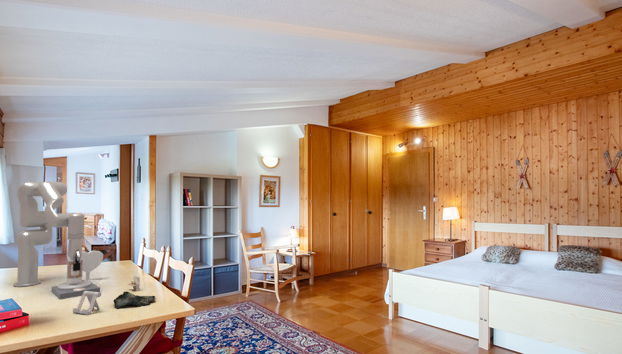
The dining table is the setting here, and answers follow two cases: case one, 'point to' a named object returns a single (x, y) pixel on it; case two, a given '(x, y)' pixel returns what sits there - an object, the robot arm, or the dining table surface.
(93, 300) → the portable electronic device stand
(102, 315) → the dining table surface
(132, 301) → the decorative rock
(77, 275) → the bath foam
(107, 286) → the dining table surface
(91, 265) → the heart sculpture
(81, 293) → the dial scale
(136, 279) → the architectural model
